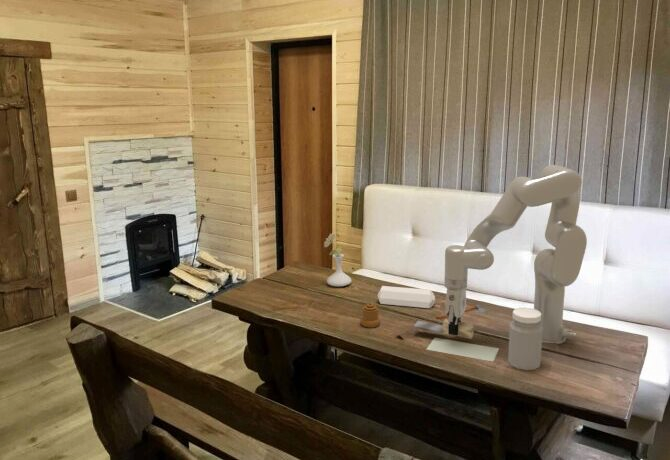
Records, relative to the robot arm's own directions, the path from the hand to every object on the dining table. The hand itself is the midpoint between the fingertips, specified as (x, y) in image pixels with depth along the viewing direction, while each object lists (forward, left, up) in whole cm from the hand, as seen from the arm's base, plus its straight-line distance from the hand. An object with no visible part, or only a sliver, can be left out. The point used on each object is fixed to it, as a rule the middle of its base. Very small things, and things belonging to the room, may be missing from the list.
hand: (454, 332), depth 192 cm
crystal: (+27, -28, -4) cm, 39 cm away
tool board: (-4, +6, -4) cm, 8 cm away
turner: (+4, 0, 0) cm, 4 cm away
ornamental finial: (+33, -3, -4) cm, 33 cm away
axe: (+3, -25, -4) cm, 26 cm away
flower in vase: (+64, -38, -4) cm, 74 cm away
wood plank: (+13, 0, -4) cm, 13 cm away
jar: (-24, +8, -4) cm, 26 cm away
